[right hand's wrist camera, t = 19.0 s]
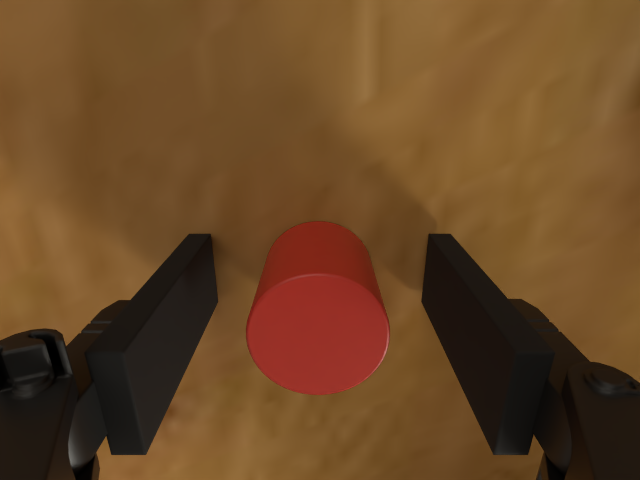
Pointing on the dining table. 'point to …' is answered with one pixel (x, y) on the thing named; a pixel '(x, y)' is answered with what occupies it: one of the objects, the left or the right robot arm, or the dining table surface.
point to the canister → (318, 312)
